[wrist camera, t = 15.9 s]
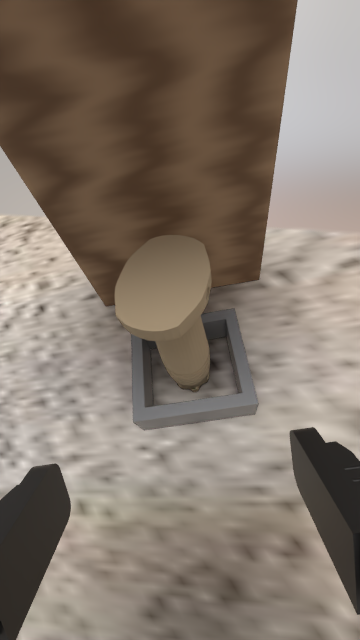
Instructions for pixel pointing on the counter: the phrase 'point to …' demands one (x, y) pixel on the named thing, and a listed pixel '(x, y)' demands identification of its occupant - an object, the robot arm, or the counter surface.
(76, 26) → the wooden l-shaped bracket
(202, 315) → the socket
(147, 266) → the tan headed rod
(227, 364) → the counter surface
